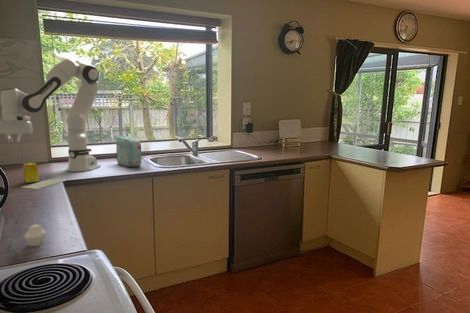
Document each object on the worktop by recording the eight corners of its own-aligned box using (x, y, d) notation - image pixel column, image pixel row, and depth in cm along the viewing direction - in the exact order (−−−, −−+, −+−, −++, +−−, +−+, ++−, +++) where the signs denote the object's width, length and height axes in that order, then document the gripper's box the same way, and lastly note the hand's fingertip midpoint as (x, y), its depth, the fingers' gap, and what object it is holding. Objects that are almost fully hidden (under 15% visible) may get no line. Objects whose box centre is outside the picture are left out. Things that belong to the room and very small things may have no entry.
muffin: (21, 245, 109) (19, 225, 108) (41, 239, 114) (39, 219, 113) (31, 250, 106) (29, 229, 104) (50, 243, 111) (49, 223, 109)
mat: (50, 179, 199) (50, 178, 199) (65, 180, 196) (65, 180, 196) (20, 187, 180) (20, 187, 180) (36, 189, 177) (36, 188, 177)
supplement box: (24, 182, 192) (22, 163, 190) (35, 180, 196) (34, 162, 194) (26, 184, 187) (25, 165, 186) (38, 182, 192) (37, 163, 190)
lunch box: (114, 163, 251) (112, 135, 248) (127, 162, 258) (126, 134, 254) (129, 169, 232) (128, 138, 228) (143, 167, 239) (142, 137, 235)
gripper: (-12, 117, 184) (-9, 142, 187) (27, 117, 186) (29, 142, 188) (-5, 116, 190) (-2, 141, 193) (33, 117, 192) (35, 140, 195)
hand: (14, 141), depth 191 cm, fingers open, 2 cm apart
